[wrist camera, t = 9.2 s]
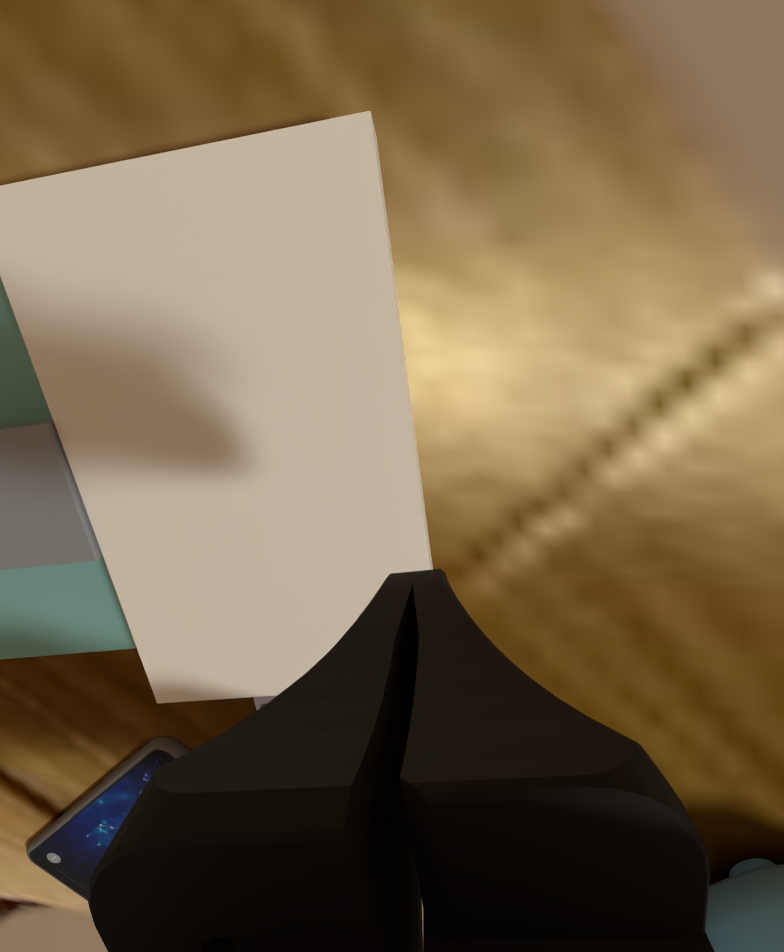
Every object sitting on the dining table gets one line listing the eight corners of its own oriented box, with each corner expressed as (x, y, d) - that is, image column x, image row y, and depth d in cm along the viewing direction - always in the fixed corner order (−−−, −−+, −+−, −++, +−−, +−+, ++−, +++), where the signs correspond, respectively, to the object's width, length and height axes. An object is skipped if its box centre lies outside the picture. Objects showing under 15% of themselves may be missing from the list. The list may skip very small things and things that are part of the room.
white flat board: (443, 654, 23) (445, 683, 21) (178, 673, 24) (157, 703, 22) (376, 136, 16) (370, 110, 14) (18, 206, 18) (-31, 191, 16)
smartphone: (16, 855, 29) (156, 737, 25) (29, 839, 30) (166, 723, 26) (108, 919, 30) (256, 816, 26) (118, 902, 31) (262, 800, 27)
